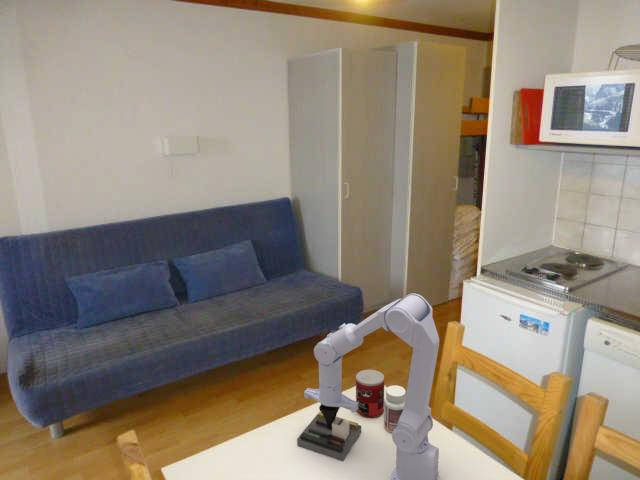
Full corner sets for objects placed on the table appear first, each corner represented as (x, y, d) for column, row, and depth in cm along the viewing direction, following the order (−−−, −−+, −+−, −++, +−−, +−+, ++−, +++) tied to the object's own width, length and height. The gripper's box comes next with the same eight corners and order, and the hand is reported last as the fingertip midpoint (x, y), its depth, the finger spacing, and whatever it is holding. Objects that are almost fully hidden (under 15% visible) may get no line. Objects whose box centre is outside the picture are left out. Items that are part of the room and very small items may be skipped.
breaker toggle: (349, 434, 123) (349, 420, 121) (344, 440, 120) (344, 426, 119) (336, 430, 124) (336, 416, 123) (332, 436, 122) (331, 422, 121)
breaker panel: (361, 432, 126) (361, 422, 126) (342, 461, 116) (342, 451, 115) (318, 419, 132) (318, 409, 131) (297, 445, 122) (296, 435, 121)
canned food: (352, 405, 138) (351, 372, 135) (377, 399, 140) (377, 367, 137) (362, 421, 131) (362, 386, 128) (388, 415, 133) (388, 380, 130)
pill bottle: (411, 428, 127) (412, 392, 124) (394, 437, 124) (395, 400, 121) (396, 417, 132) (396, 381, 129) (379, 425, 129) (379, 389, 126)
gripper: (362, 380, 119) (362, 426, 123) (312, 367, 126) (313, 411, 130) (351, 395, 113) (351, 442, 117) (299, 380, 120) (301, 426, 124)
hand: (331, 427), depth 123 cm, fingers closed
